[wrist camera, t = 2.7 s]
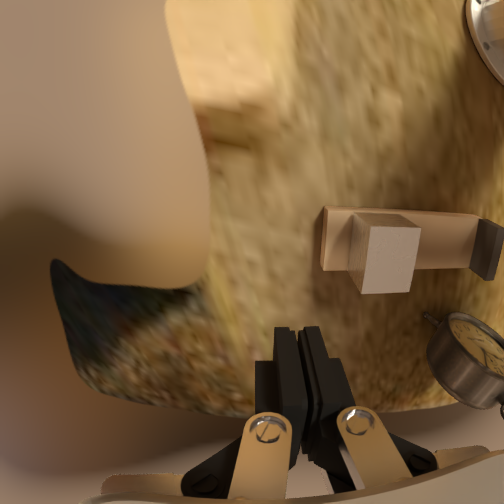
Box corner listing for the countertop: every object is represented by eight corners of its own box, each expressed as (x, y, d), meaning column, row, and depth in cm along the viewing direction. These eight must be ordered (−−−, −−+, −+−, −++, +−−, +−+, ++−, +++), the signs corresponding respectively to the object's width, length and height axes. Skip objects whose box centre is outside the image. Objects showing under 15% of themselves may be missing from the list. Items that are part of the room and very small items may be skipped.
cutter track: (324, 206, 25) (338, 220, 20) (478, 215, 24) (505, 228, 20) (319, 263, 26) (331, 287, 22) (469, 261, 26) (493, 280, 22)
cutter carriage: (353, 212, 23) (370, 226, 19) (405, 214, 23) (427, 228, 19) (347, 271, 25) (361, 294, 21) (396, 271, 25) (415, 291, 21)
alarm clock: (483, 314, 29) (560, 400, 14) (462, 350, 31) (525, 441, 15) (424, 297, 28) (513, 408, 13) (399, 339, 30) (465, 458, 14)
